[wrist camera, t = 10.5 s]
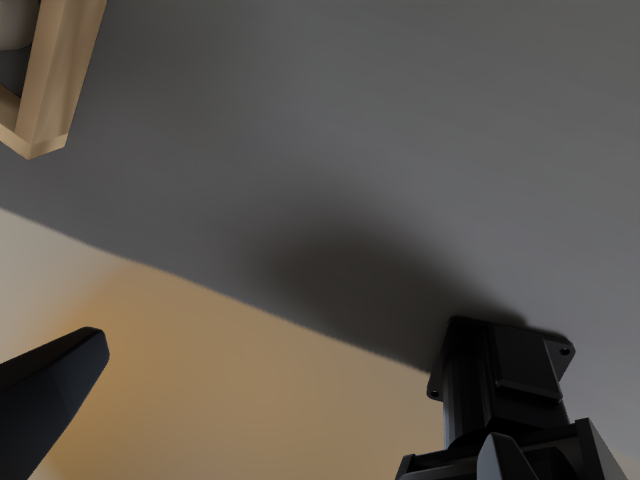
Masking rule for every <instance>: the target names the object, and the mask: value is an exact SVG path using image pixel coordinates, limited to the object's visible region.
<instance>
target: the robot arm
mask: <svg viewBox="0 0 640 480" xmlns="http://www.w3.org/2000/svg"><path fill="white" fill-rule="evenodd" d="M456 324H459V325H461V326H459V327H456V326H454V325H456ZM563 348H567V349H566V350H561V349H563ZM575 352H576V351H575V348H574V346H573V344H572V342H570V341H568V340H565V339H561V338H556V337H552V336H547V335H543V334H539V333H534V332H530V331H525V330H521V329H516V328H512V327H507V326H502V325H498V324H493V323H488V322H483V321H479V320H474V319H470V318H465V317H461V316H454V317H452V318H450V319H449V321H448V323H447V326H446V329H445V333H444V336H443V339H442V342H441V345H440V348H439V351H438V354H437V357H436V360H435V363H434V366H433V369H432V372H431V376H430V379H429V382H428V385H427V396H428V397H429V398H431V399H433V400H437V401H441V402H443V411H444V412H443V416H444V450H441V451H435V452H431V453H426V454H421V455H415V454H410V455H406V456H404V457H403V459H402V462H401V464H400V467H399V470H398V472H397V475H396V478H395V480H628V479H627V478H626V476H625V474H624V473H623V471H622V470H621V468H620V466H619V465H618V463H617V462H616V460H615V459H614V457H613V455H612V454H611V452H610V450H609V449H608V447H607V446H606V444H605V443H604V441H603V439H602V438H601V436H600V435H599V433H598V431H597V430H596V428H595V427H594V425H593V423H592V422H591V420H590V419H589V418H583V419H578V420H575V423H572V424H570V421H569V418H568V415H567V412H566V409H565V406H564V403H563V400H562V398H563V395H562V392H561V389H560V386H559V381H560V379H561V378H562V376H563V374H564V372H565V371H566V369H567V367H568V365H569V364H570V362H571V360H572V358H573V357H574V355H575ZM109 356H110V353H109V349H108V345H107V341H106V337H105V334H104V332H103V331H102V330H100V329H97V328H93V327H83V328H80V329H78V330H76V331H74V332H71V333H69V334H67V335H65V336H62V337H60V338H58V339H56V340H54V341H51V342H49V343H47V344H44V345H42V346H40V347H37V348H35V349H33V350H31V351H28V352H27V353H24V354H22V355H19V356H17V357H15V358H13V359H10V360H8V361H6V362H4V363H1V364H0V480H27V479H28V478H29V477H30V475H31V474H32V473H33V471H34V470H35V469H36V468H37V466H38V465H39V464H40V462H41V460H43V458H44V457H45V456H46V454H47V453H48V452H49V450H50V449H51V448H52V446H53V445H54V444H55V442H56V441H57V440H58V438H59V437H60V436H61V434H62V433H63V432H64V430H65V429H66V428H67V426H68V425H69V423H70V422H71V421H72V419H73V418H74V416H75V415H76V413H77V412H78V410H79V408H80V407H81V405H82V403H83V402H84V400H85V399H86V397H87V395H88V394H89V392H90V391H91V389H92V387H93V386H94V384H95V383H96V381H97V379H98V378H99V376H100V374H101V373H102V371H103V370H104V368H105V366H106V365H107V363H108V360H109ZM433 391H436V392H433Z"/></svg>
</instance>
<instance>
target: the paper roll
mask: <svg viewBox="0 0 640 480" xmlns="http://www.w3.org/2000/svg"><path fill="white" fill-rule="evenodd" d="M38 15H39V3H38V0H0V51H4V50H14V49H21V48H24V47H26V46H27V45H29V44H30V43H31V42H32V41H33V39H34V34H35V30H36V25H37V20H38Z"/></svg>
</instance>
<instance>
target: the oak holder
mask: <svg viewBox="0 0 640 480" xmlns="http://www.w3.org/2000/svg"><path fill="white" fill-rule="evenodd" d="M106 4H107V0H41V5H40V10H39V15H38V20H37V25H36V30H35V34H34V39H33V44H32V49H31V54H30V59H29V64H28V69H27V74H26V78H25V83H24V88H23V93H22V98H21V99H20V98H19V97H18V96H16V95H15V94H14V93H12V92H11V91H9V90H8V89H7V88H5V87H4V86H2V85H1V84H0V141H1V142H3V143H4V144H6V145H7V146H9V147H10V148H11V149H13V150H14V151H16V152H17V153H18V154H20V155H21V156H23V157H24V158H26V159H27V160H30V159H32V158H35V157H38V156H40V155H43V154H46V153H49V152H51V151H54V150H57V149H59V148H62V147H65V143H66V140H67V136H68V133H69V130H70V126H71V123H72V119H73V116H74V112H75V109H76V106H77V102H78V99H79V95H80V92H81V89H82V85H83V82H84V78H85V75H86V72H87V68H88V65H89V61H90V58H91V55H92V51H93V48H94V44H95V41H96V38H97V34H98V31H99V27H100V24H101V21H102V17H103V14H104V10H105V7H106Z"/></svg>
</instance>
